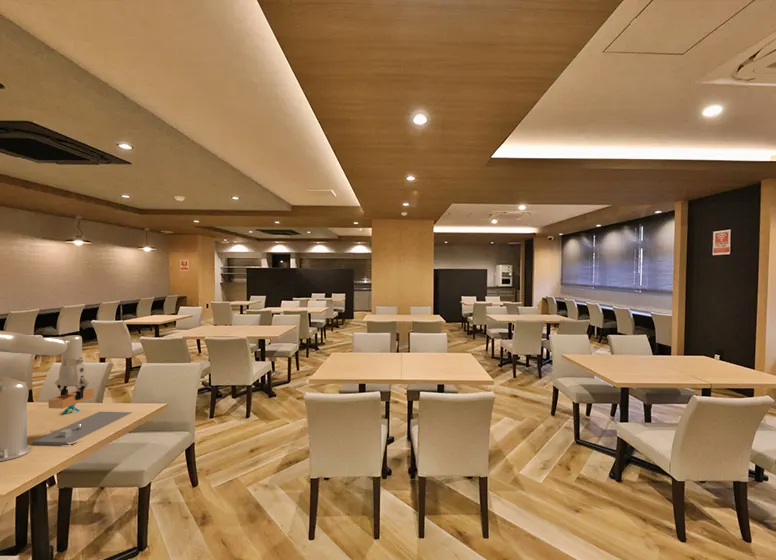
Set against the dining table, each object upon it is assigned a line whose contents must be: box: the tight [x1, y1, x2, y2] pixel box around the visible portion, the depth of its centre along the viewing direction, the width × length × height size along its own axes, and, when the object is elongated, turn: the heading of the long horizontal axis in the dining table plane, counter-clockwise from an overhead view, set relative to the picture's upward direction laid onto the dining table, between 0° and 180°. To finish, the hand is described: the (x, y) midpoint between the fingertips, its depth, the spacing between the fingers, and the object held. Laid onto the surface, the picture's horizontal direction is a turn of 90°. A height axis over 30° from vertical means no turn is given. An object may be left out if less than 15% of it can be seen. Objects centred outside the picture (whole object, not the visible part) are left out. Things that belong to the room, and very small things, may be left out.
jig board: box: [31, 411, 134, 446], centre depth 182 cm, size 36×19×4 cm, turn 177°
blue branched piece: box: [61, 404, 81, 416], centre depth 203 cm, size 11×6×10 cm
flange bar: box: [48, 388, 95, 410], centre depth 174 cm, size 16×7×4 cm, turn 177°
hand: (72, 398), depth 174 cm, fingers closed on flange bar, 7 cm apart
